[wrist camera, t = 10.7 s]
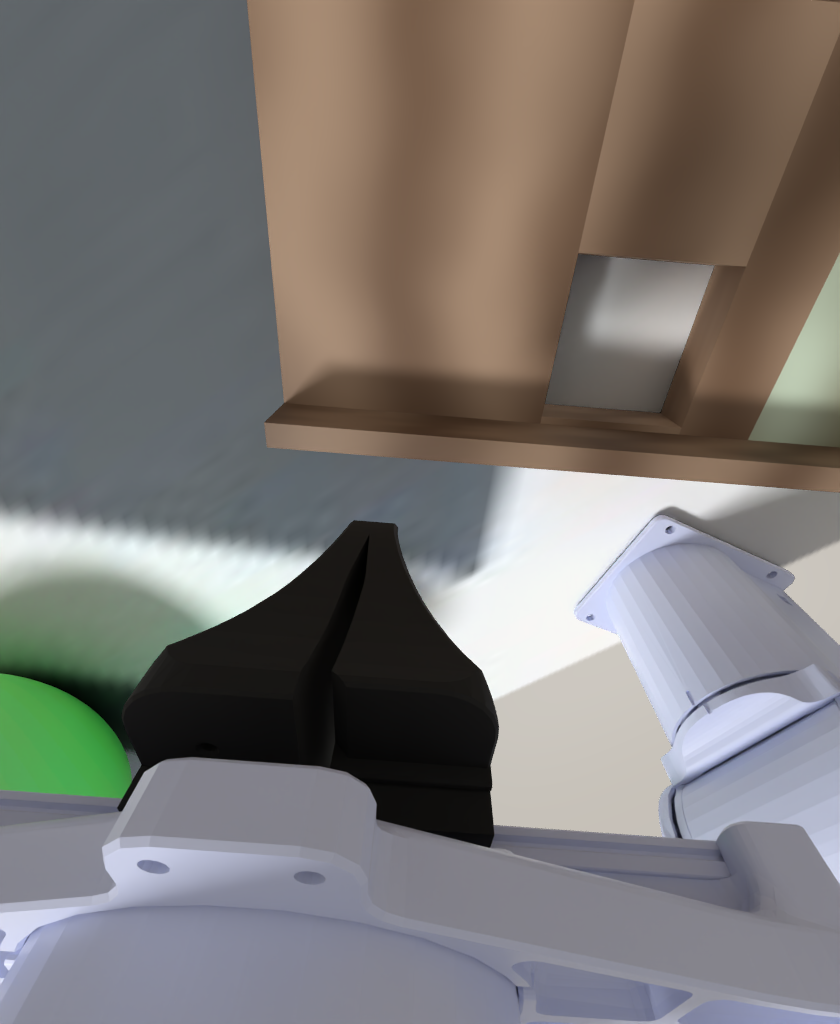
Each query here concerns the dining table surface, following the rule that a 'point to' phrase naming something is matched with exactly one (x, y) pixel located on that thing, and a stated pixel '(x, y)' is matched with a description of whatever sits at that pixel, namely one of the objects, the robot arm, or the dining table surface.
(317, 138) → the box
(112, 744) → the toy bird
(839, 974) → the robot arm
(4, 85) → the dining table surface
